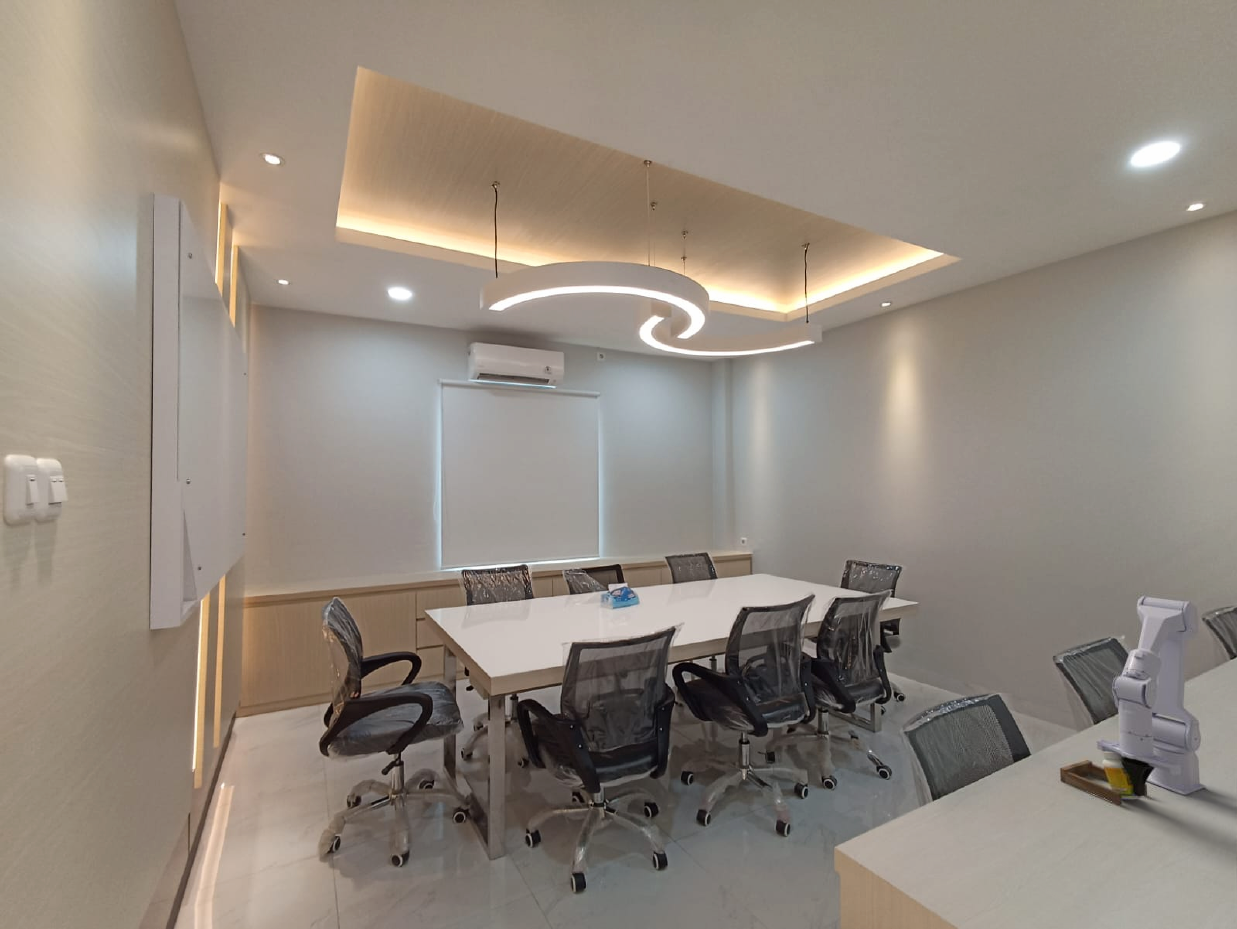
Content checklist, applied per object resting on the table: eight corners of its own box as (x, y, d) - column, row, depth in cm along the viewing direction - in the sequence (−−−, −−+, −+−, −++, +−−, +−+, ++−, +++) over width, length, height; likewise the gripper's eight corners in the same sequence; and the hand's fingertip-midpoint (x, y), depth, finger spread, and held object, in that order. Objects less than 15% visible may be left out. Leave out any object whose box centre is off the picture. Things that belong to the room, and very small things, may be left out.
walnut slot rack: (1087, 772, 142) (1087, 760, 143) (1147, 795, 131) (1146, 782, 132) (1060, 780, 138) (1060, 768, 138) (1119, 805, 127) (1118, 792, 127)
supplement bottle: (1121, 792, 133) (1105, 747, 136) (1148, 796, 128) (1131, 749, 131) (1108, 797, 131) (1092, 751, 134) (1136, 801, 126) (1118, 753, 129)
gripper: (1088, 722, 134) (1090, 782, 132) (1167, 746, 120) (1170, 813, 119) (1105, 719, 136) (1107, 778, 135) (1184, 742, 123) (1187, 808, 122)
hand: (1138, 794), depth 127 cm, fingers closed, pressing on supplement bottle
